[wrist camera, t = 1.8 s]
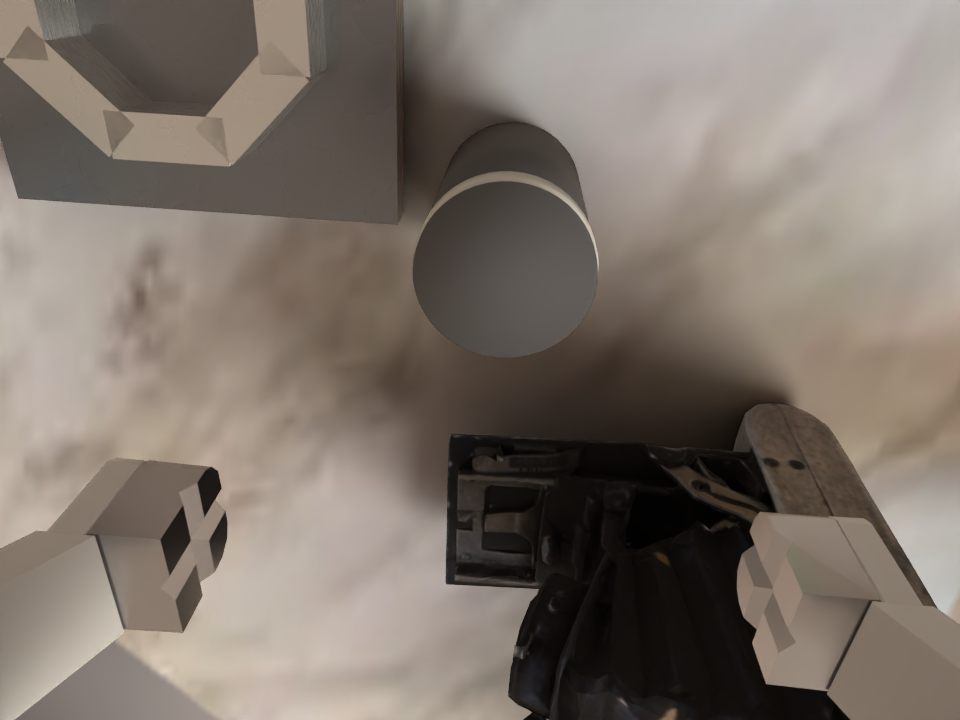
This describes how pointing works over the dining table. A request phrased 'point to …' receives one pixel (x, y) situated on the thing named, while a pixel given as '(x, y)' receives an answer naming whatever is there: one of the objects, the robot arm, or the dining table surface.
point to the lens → (507, 245)
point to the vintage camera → (644, 563)
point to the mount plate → (207, 105)
